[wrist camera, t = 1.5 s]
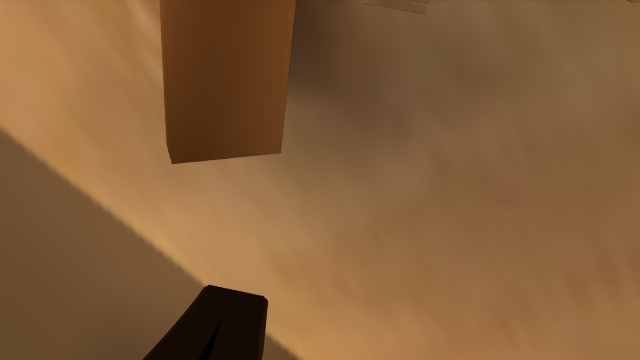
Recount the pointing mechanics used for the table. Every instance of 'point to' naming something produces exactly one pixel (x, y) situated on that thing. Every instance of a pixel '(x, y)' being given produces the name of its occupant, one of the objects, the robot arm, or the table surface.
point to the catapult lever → (226, 76)
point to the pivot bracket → (402, 5)
